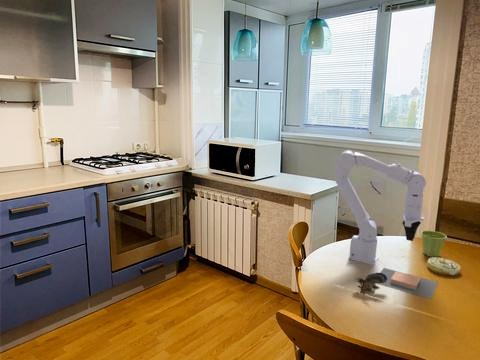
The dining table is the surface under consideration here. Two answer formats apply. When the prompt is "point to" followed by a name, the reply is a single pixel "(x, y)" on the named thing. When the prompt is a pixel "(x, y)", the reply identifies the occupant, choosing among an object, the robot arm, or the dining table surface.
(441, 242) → the plant pot
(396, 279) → the tile
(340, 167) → the robot arm
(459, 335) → the dining table surface
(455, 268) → the decorated donut
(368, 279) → the eagle figurine
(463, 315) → the dining table surface
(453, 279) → the dining table surface
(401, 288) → the mat
